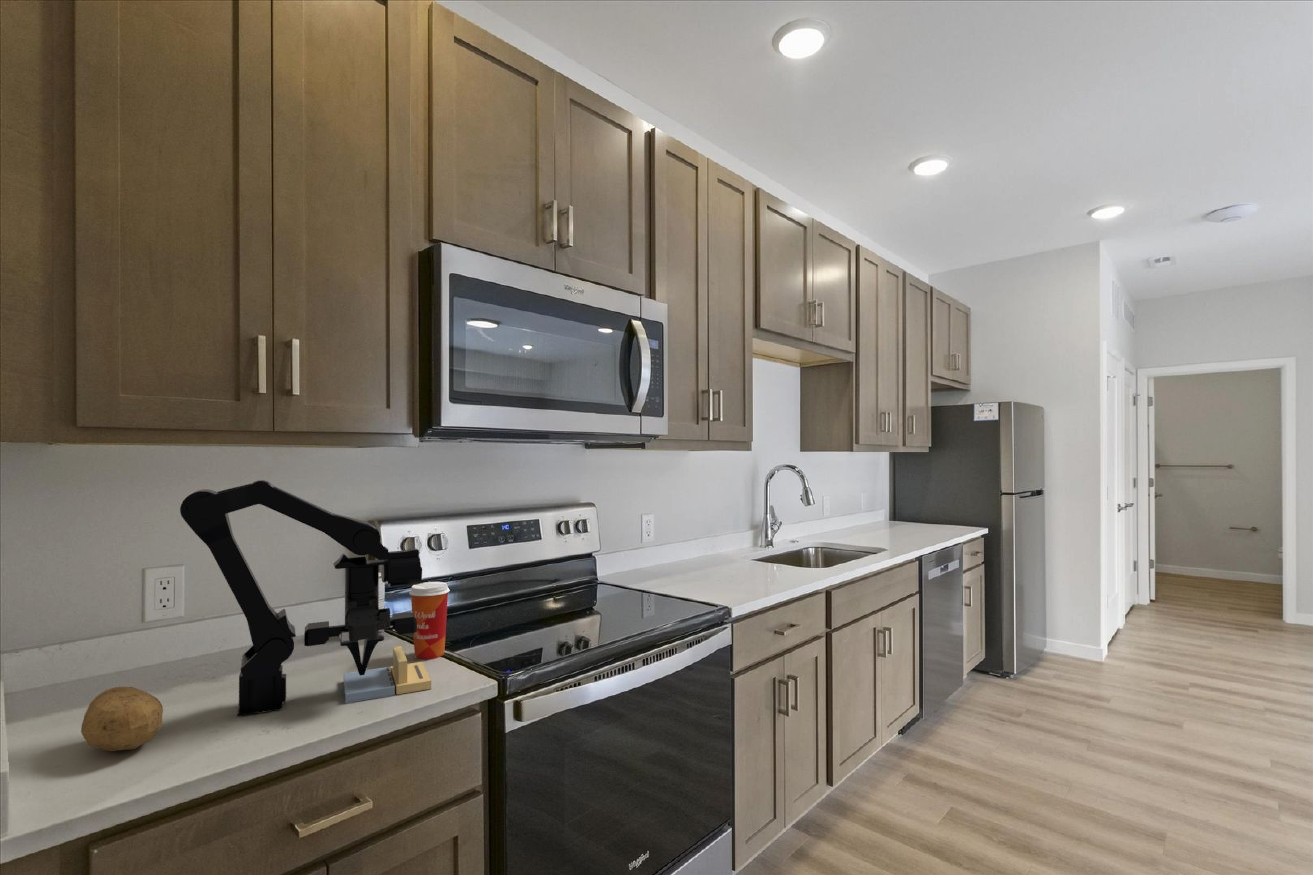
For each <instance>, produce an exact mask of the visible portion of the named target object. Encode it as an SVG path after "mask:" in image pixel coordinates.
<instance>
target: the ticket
mask: <svg viewBox="0 0 1313 875" xmlns="http://www.w3.org/2000/svg"><path fill="white" fill-rule="evenodd" d="M343 689H344V700H345V701H344V702H345V704H350V703H357V702H363V701H367V700H372V699H381V698H386V697H392V696H395V695H396V691H395V686H394V683H393V679H392V676H391V673H390V666H385V667H379V668H373V669H366V672H365V674H364V675H361V676H360V675H359V672H358V671H353V672H345V673H343Z"/></svg>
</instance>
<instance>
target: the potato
mask: <svg viewBox="0 0 1313 875" xmlns="http://www.w3.org/2000/svg"><path fill="white" fill-rule="evenodd" d="M163 713H164V708H163V705H162V703H161V701H160V700H159V699H158V698H157V697H156V696H154V695H152V694H151V693H148V692H146V691H144V690H142V689H140V688H139V689H138V688H136V687H133V686H117V687H112V688H111V687H110V688H108V689H106V690H104V691H102V692H101V693H99V694H98V695H97V696H95V698H94V699H93V700H92V701H91V702H89V705H88V707H87V709H86V712H85V713H84V715H83V720H82V724H81V730H80V733H81V735H82V737H83V738H84V740H85V743H86V744H87V745H89V746H90V747H94V748H97V749H100V750H103V751H104V752H105V751H106V752H117V751H127V750H128V751H129V750H131V751H132V750H136V749H137V748H139V747H141V746H142V745H144V744H145V743H147V742H149V741H150V740H151V739H153V737H154V736H155V735H156V733H157V732H158V731H159V730H160V728H161V727H162V725H163V715H164V714H163Z"/></svg>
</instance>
